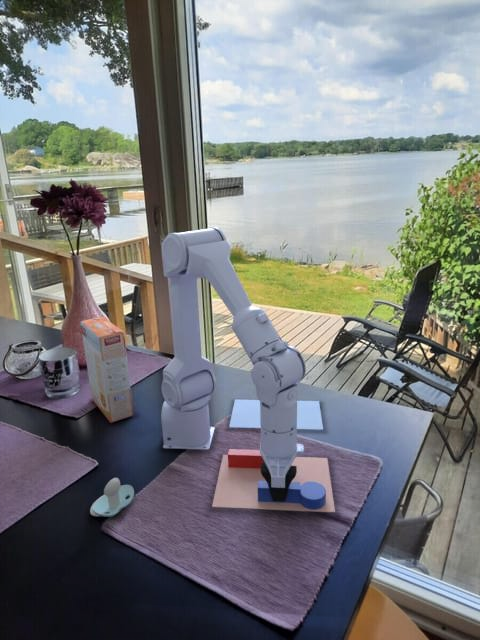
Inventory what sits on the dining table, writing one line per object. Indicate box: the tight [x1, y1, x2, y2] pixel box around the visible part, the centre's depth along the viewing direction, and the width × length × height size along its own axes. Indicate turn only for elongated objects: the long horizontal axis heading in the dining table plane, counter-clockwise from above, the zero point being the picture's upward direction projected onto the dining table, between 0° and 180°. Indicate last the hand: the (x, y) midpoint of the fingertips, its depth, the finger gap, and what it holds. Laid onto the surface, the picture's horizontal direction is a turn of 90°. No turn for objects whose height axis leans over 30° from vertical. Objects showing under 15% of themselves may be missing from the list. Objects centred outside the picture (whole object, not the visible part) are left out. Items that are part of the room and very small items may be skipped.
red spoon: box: [227, 448, 265, 469], centre depth 82 cm, size 11×4×3 cm, turn 85°
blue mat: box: [228, 399, 324, 431], centre depth 99 cm, size 20×12×1 cm, turn 85°
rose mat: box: [211, 454, 336, 513], centre depth 78 cm, size 20×14×1 cm
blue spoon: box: [258, 481, 326, 510], centre depth 73 cm, size 11×4×3 cm, turn 85°
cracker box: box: [80, 316, 134, 424], centre depth 102 cm, size 14×6×21 cm, turn 34°
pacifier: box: [89, 477, 135, 518], centre depth 73 cm, size 7×6×6 cm
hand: (279, 493), depth 73 cm, fingers closed
